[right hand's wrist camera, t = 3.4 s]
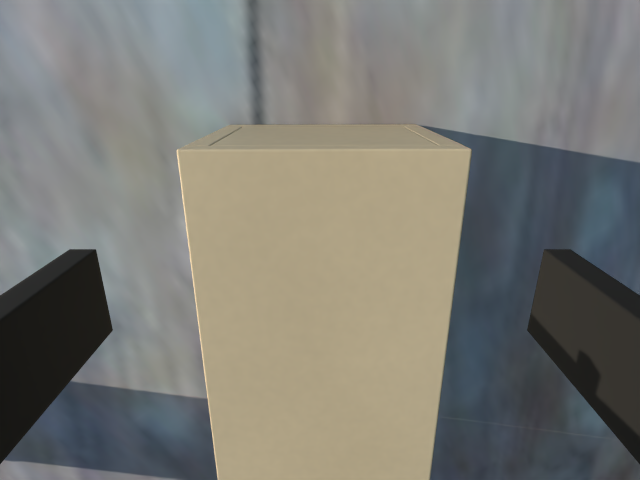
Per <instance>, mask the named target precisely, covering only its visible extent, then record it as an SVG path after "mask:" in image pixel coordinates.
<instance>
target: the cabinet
mask: <svg viewBox="0 0 640 480" xmlns="http://www.w3.org/2000/svg"><path fill="white" fill-rule="evenodd" d="M471 154H472V149H470V148H468V147H466V146H464V145H462V144H460V143H457V142H455V141H453V140H451V139H448V138H446V137H444V136H441V135H439V134H437V133H435V132H432V131H430V130H428V129H426V128H423V127H421V126H418V125H416V124H404V125H229V126H226V127H224V128H222V129H220V130H218V131H216V132H214V133H211V134H209V135H207V136H205V137H203V138H201V139H199V140H197V141H194V142H192V143H190V144H188V145H186V146H184V147H182V148H180V149H178V150H177V157H178V165H179V173H180V181H181V189H182V197H183V205H184V213H185V221H186V229H187V237H188V245H189V253H190V261H191V269H192V277H193V285H194V293H195V301H196V309H197V317H198V325H199V333H200V341H201V349H202V357H203V365H204V373H205V381H206V389H207V397H208V405H209V413H210V421H211V429H212V437H213V445H214V453H215V461H216V469H217V477H218V480H430V474H431V466H432V459H433V451H434V443H435V435H436V427H437V420H438V412H439V404H440V396H441V388H442V381H443V373H444V365H445V357H446V349H447V342H448V334H449V326H450V318H451V310H452V303H453V295H454V287H455V279H456V271H457V264H458V256H459V248H460V240H461V232H462V225H463V217H464V209H465V201H466V193H467V186H468V178H469V170H470V162H471Z"/></svg>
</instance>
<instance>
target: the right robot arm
mask: <svg viewBox="0 0 640 480" xmlns="http://www.w3.org/2000/svg"><path fill="white" fill-rule="evenodd" d="M112 330H113V329H112V324H111V320H110V315H109V310H108V305H107V300H106V296H105V291H104V286H103V281H102V276H101V272H100V267H99V262H98V257H97V252H96V249H70V250H68V251H67V252H65V253H64V254H62V255H61V256H59V257H58V258H56V259H55V260H53V261H52V262H50V263H49V264H47V265H46V266H44V267H43V268H41V269H40V270H38V271H37V272H35V273H34V274H32V275H31V276H29V277H28V278H26V279H25V280H23V281H21V282H20V283H18V284H17V285H15V286H14V287H12V288H11V289H9V290H8V291H6V292H5V293H3V294H2V295H0V464H1V463H2V461H3V460H4V459H5V458H6V457H7V455H8V454H9V453H10V452H11V451H12V449H13V448H14V447H15V446H16V445H17V443H18V442H19V441H20V440H21V439H22V438H23V436H24V435H25V434H26V433H27V432H28V430H29V429H30V428H31V427H32V426H33V424H34V423H35V422H36V421H37V420H38V419H39V417H40V416H41V415H42V414H43V413H44V411H45V410H46V409H47V408H48V407H49V405H50V404H51V403H52V402H53V401H54V399H55V398H56V397H57V396H58V395H59V394H60V392H61V391H62V390H63V389H64V388H65V386H66V385H67V384H68V383H69V382H70V380H71V379H72V378H73V377H74V376H75V374H76V373H77V372H78V371H79V370H80V369H81V367H82V366H83V365H84V364H85V363H86V361H87V360H88V359H89V358H90V357H91V355H92V354H93V353H94V352H95V351H96V349H97V348H98V347H99V346H100V345H101V344H102V342H103V341H104V340H105V339H106V338H107V336H108V335H109V334H110V333H111V332H112ZM527 330H528V332H529V333H530V334H531V335H532V336H533V338H534V339H535V340H536V341H537V342H538V344H539V345H540V346H541V347H542V348H543V349H544V351H545V352H546V353H547V354H548V355H549V357H550V358H551V359H552V360H553V361H554V363H555V364H556V365H557V366H558V367H559V369H560V370H561V371H562V372H563V373H564V374H565V376H566V377H567V378H568V379H569V380H570V382H571V383H572V384H573V385H574V386H575V388H576V389H577V390H578V391H579V392H580V394H581V395H582V396H583V397H584V398H585V399H586V401H587V402H588V403H589V404H590V405H591V407H592V408H593V409H594V410H595V411H596V413H597V414H598V415H599V416H600V417H601V419H602V420H603V421H604V422H605V423H606V424H607V426H608V427H609V428H610V429H611V430H612V432H613V433H614V434H615V435H616V436H617V438H618V439H619V440H620V441H621V442H622V443H623V445H624V446H625V447H626V448H627V449H628V451H629V452H630V453H631V454H632V455H633V457H634V458H635V459H636V460H637V461H638V463H639V464H640V295H638V294H637V293H635V292H634V291H632V290H631V289H629V288H628V287H626V286H625V285H623V284H622V283H620V282H619V281H617V280H615V279H614V278H612V277H611V276H609V275H608V274H606V273H605V272H603V271H602V270H600V269H599V268H597V267H596V266H594V265H593V264H591V263H590V262H588V261H587V260H585V259H584V258H582V257H581V256H579V255H578V254H576V253H575V252H573V251H572V250H570V249H544V252H543V257H542V262H541V267H540V272H539V276H538V281H537V286H536V291H535V296H534V300H533V305H532V310H531V315H530V320H529V324H528V329H527Z"/></svg>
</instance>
